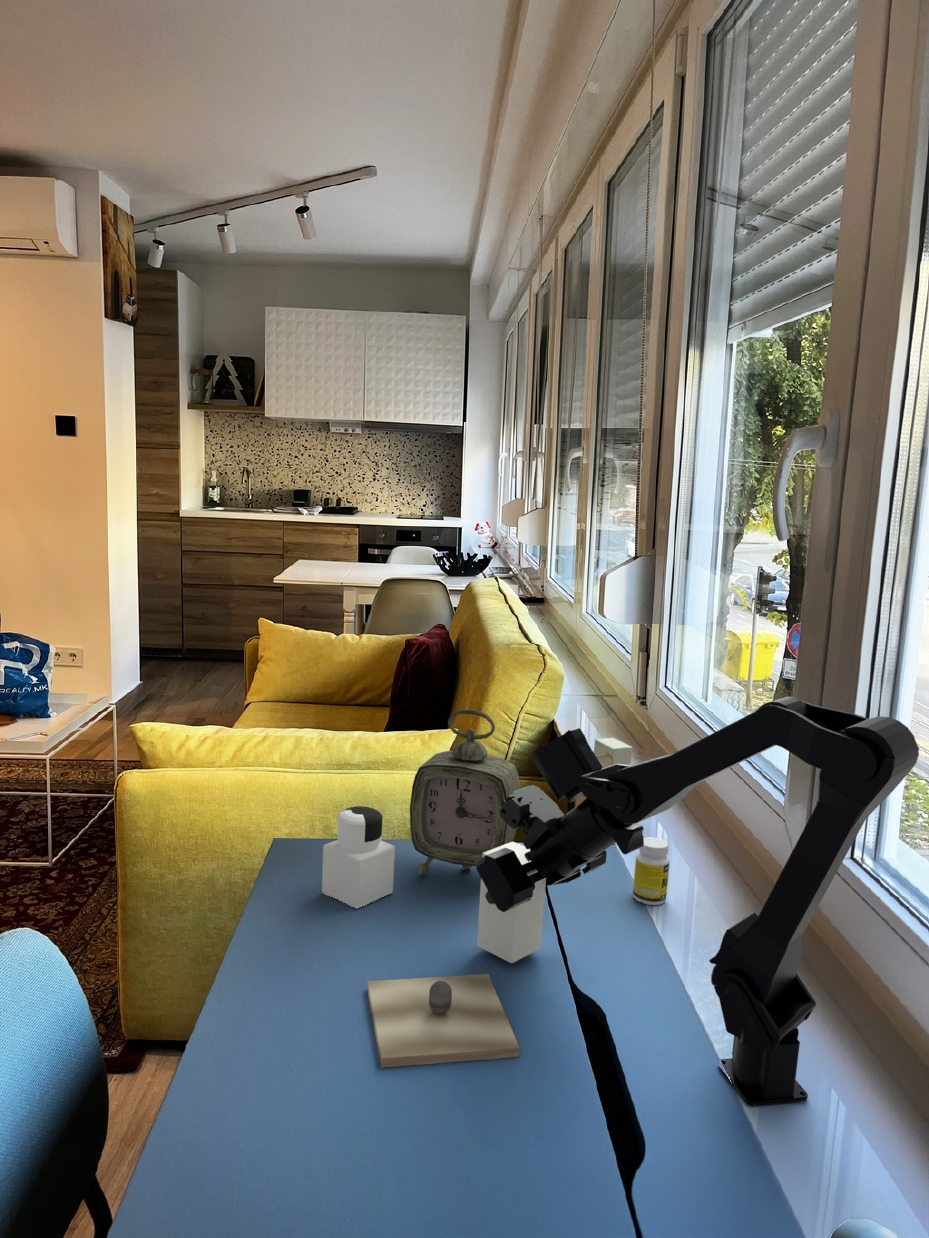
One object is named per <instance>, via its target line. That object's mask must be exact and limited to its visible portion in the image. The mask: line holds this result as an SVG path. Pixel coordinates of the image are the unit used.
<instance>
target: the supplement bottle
mask: <svg viewBox="0 0 929 1238" xmlns="http://www.w3.org/2000/svg"><path fill="white" fill-rule="evenodd" d="M668 854H669V843H668V842H667V841H666V840H665V839H663V838H662V839H661V838H659V837H652V836H649V837H644V845H643V847H641V848H639V849H638V852H637V853H636V855H635V862H634V863H635V864H634V872H633V873H634V875H633V886H632V897H633V899H634V898H635V899H636V900H635V899H634V900H635V901H637V902H638V901H639V902H638V903H640V902H642V903H641V904H643V903H644V904H643V905H648V906H659V905H662V904H664V903H665V902H666V899H667V893H668V892H667V890H668V882H669V871H670V862H671V861H670V858H669V856H668Z"/></svg>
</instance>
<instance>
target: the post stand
mask: <svg viewBox="0 0 929 1238" xmlns="http://www.w3.org/2000/svg"><path fill="white" fill-rule="evenodd" d="M366 985H367V987H366V989H367V997H368V1002H369V1007H370V1012H371V1017H372V1022H373V1023H372V1024H373V1031H374V1034H375V1041H376V1046H377V1050H378V1051H377V1052H378V1056H379V1062H380V1068H382V1069H383V1068H394V1067H396V1068H397V1067H408V1066H409V1067H410V1066H418V1065H431V1064H434V1065H435V1064H446V1063H447V1064H448V1063H455V1062H459V1063H460V1062H470V1061H471V1062H472V1061H482V1060H483V1061H485V1060H486V1061H487V1060H495V1059H496V1060H497V1059H498V1060H499V1059H507V1058H508V1059H510V1058H519V1057H520V1045H519V1043H518V1040H517V1038H516V1036H515V1033H514V1032H513V1028H512V1027H511V1024H510V1021H509V1019H508V1017H507V1015H506V1012H505V1010H504V1007H503V1005H502V1003H501V1001H500V999H499V998H500V997H499V996H498V993H497V990H496V989H495V985H494V984H493V982H492V980H491V977H490V975H489V973H486V974H483V973H481V974H470V975H469V974H468V975H466V974H465V975H449V976H447V975H446V976H436V977H433V976H432V977H415V978H414V977H413V978H400V979H383V980H379V979H378V980H367V984H366Z"/></svg>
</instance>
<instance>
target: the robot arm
mask: <svg viewBox="0 0 929 1238" xmlns="http://www.w3.org/2000/svg"><path fill="white" fill-rule="evenodd" d="M916 740H917V739H916V738H915V736H914V734H913V732H912V731H911V730H910V729H909V728H908V726H906V725H905V724H904V723H902V722H901V721H900V720H897V719H895V718H892V717H889V716H874V717H871V718H868V717H865V716H862V715H859V714H856V713H854V712H849V711H844V710H841V709H834V708H830V707H825V706H821V705H816V704H813V703H811V702H807V701H805V700H802V699H798V698H797V697H795V696H784V697H782V698H778V699H775V700H772V701H769V702H765V703H763V704H762V705H760V707H758V709H757V710H754V711H753V712H751V713H749V714H748V715H745V716H743V717H742V718H739V719H738V720H736V721H734V722H732V723H730V724H729V725H726V726H724V727H722V728H721V729H719V730H716V731H714V732H713V733H712V734H709V735H707V736H705V737H703V738H702V739H700V740H699V739H698V740H697V741H696V742H694V743H691V744H690V745H688V746H686V747H684V748H682V749H680V750H678V751H676V752H674V753H670V754H666V755H662V756H659V757H656V758H655V757H654V758H652V759H649V760H647V759H646V760H645V761H642V762H638V763H636V764H633V765H632V764H630V765H624V764H614V765H611V766H608V767H605V768H603V767H602V765H601V764H600V762H599V760H598V759H597V757H596V756H595V754H594V750H593V749H592V748H591V746H590V744H589V742H588V741H587V738H586V736H585V734H584V732H583V730H582V728H580V727H576V728H572V729H569V730H567V731H566V732H565V733H564V734H562V735H559V736H557V737H555V738H554V739H552V740H551V741H549V742H547V743H545V744H542V745H539V747H537V748H536V749H535V750H534V751H533V752H532V753H531V757H530V758H532V761H533V762H534V764H535V765H536V767H537V769H538V770H539V772H540V774H541V775H542V777H543V779H544V781H545V782H546V784H547V786H548V787H549V789H550V791H551V792H552V794H553V796H554V797H555V799H556V800H557V801H558V802H560V801H563V800H564V799H565V798H566V801H567V802H568V803H569V804H570V803H573V802H576V801H577V800H579V799H582V798H584V797H585V799H583V800H582V801H581V802H580V803H579V804H577V805H576V806H575V807H573V808H572V809H571V810H570V811H568V812H566V813H565V814H564V812H563V811H562V810H561V809H560V807H559V805H558V804H557V803H556V802H555V801H554V800H553V799H552V798H551V797H550V796H549V795H548V794H546V793H545V792H544V791H543V790H542V789H541V788H540V787H539V786H537V785H533V784H531V785H526V786H523V787H520V789H518V790H515V791H513V793H512V794H511V795H508V797H507V798H506V799H505V800H503V801H501V807H502V808H501V810H500V816H501V818H502V819H503V820H504V821H505V822H506V823H507V824H508V825H509V826H510V827H511V828H513V829H514V828H518V829H519V831H520V832H522V833H523V834H525V835H526V836H524V837H523V838H522V839H521V842H522V844H523V846H525V847H526V849H530V851H529V852H527V853H525V854H524V856H525V858H526V860H527V861H528V863H526V864H523V865H522V864H521V863H520V861H519V859H518V857H517V855H516V854H515V852H514V851H513V850H510V849H508V848H503V849H500V850H498V851H495V852H493V853H490V854H488V855H486V856H484V857H483V858H482V859H481V860H479V861H478V862H477V865H476V866H475V868H476V871H477V874H479V877H480V879H481V878H482V880H483V882H484V884H485V886H486V888H487V890H488V891H487V893H486V895H485V898H486V899H487V901H488V903H489V904H495V905H496V906H497V908H498V910H500V911H502V912H506V911H508V910H510V909H512V908H514V907H517V906H519V905H520V904H523V903H525V902H527V901H529V900H531V897H533V890H534V889H535V883H536V882H539V881H541V880H543V879H545V878H546V886H545V887H548V886H554V885H559V884H561V885H562V884H567V883H570V882H572V881H574V880H576V879H579V878H581V876H582V873H583V875H584V876H586V875H588V874H590V873H592V872H594V871H596V870H597V869H599V868H600V867H602V866H604V865H605V864H606V862H607V851H606V850H608V849H609V848H610V847H612V846H613V845H614V844H616V845H617V847H618V849H619V850H620V852H621V853H622V854H623V855H628V854H630V853H632V852H634V851H636V850H639V848H641V847H643V845H644V838H645V837H644V835H643V832H644V828H645V827H644V826H642V825H641V824H638V823H640V822H642V821H645V820H647V819H650V818H651V817H654V816H656V815H659V814H661V813H663V812H665V811H668V810H669V809H671V808H672V807H674V806H675V805H676V804H677V803H678V802H679V801H681V800H682V799H683V798H684V797H686V796H687V795H688V794H690V792H691V791H692V790H693V789H694V788H696V786H698V785H699V784H700V783H702V782H703V781H705V780H707V779H709V778H711V777H714V776H716V775H718V774H720V773H722V772H724V771H726V770H729V769H730V768H732V767H734V766H736V765H738V764H740V763H742V762H744V761H746V760H747V761H748V759H751V758H753V757H754V756H757V755H759V754H761V753H764V752H765V751H767V750H770V749H772V748H773V747H775V746H778V747H780V748H782V749H785V750H786V751H788V752H789V753H791V754H792V755H794V756H795V757H796V758H798V759H800V760H802V761H803V762H804V763H806V764H808V765H809V766H812V767H815V768H817V769H819V770H820V771H819V775H818V783H817V785H818V787H817V800H816V805H815V807H814V809H813V810H812V811H813V812H812V813H811V814H810V816H809V819H808V820H807V823H806V824H805V826H804V828H803V830H802V832H801V834H800V836H799V838H798V840H797V842H796V843H795V845H794V848H793V849H792V851H791V852H790V854H789V857H788V858H787V861H786V863H785V864H784V866H783V868H782V870H781V872H780V874H779V876H778V878H777V879H776V881H775V884H774V885H773V888H772V889H771V891H770V893H769V895H768V897H767V898H766V901H765V903H764V905H763V907H762V909H761V911H760V912H759V914H757V913H755V912H754V911H753V912H751V913H750V914H748V915H747V916H744V918H742V919H740V920H739V921H738V922H736V923H735V924H733V925H732V926H730V927H729V928H727V929H726V930H725V932H724V934H723V936H722V938H721V939H722V940H721V943H720V946H719V949H718V952H717V953H716V954H715V955H714V956H713V957H711V958H710V959H709V963H710V964H712V965H713V964H714V967H713V969H712V971H711V974H710V975H711V976H710V983H711V984H712V985H713V987H714V991H715V994H716V995H717V997H718V999H719V1003H720V1004H719V1005H720V1008H721V1013H722V1017H723V1022H724V1026H725V1031H726V1032H727V1033H728V1034H730V1035H732V1036H733V1043H732V1050H731V1051H732V1052H731V1055H732V1058H721V1059H719V1060H721V1062H722V1065H723V1067H724V1069H725V1071H726V1073H727V1074H728V1076H729V1077H730V1080H731V1082H732V1084H733V1085H732V1084H731V1085H732V1087H733V1088H734V1089H735V1091H736V1093H737V1094H738V1095H739V1096H740V1098H741V1099H742V1101H743V1102H744V1103H745V1104H746V1105H748V1106H750V1107H751V1106H753V1107H754V1106H763V1105H775V1104H784V1103H785V1104H786V1103H787V1104H788V1103H796V1102H797V1103H798V1102H804V1101H807V1100H808V1097H809V1095H808V1092H807V1091H806V1090H805V1089H804V1088H803V1087H802V1085H801V1084H800V1083H799V1082H798V1080H796V1078H797V1069H798V1062H799V1051H800V1045H801V1043H800V1040H799V1032H800V1031H799V1029H798V1027H800V1026H801V1024H803V1022H805V1021H807V1020H808V1019H809V1018H810V1017H811V1015H812V1013H813V1011H814V1010H815V1008H816V1006H817V1002H816V1000H815V999H814V997H813V996H812V995H811V993H810V991H809V990H808V988H807V987H806V985H805V984H804V982H803V981H802V979H801V978H800V976H799V975H798V973H797V972H798V969H799V966H800V962H801V959H802V953H803V937H804V933H805V931H806V929H807V927H808V926H809V924H810V921H811V920H812V918H813V916H814V914H815V913H816V911H817V909H818V907H819V906H820V904H821V902H822V900H823V897H824V896H825V894H826V893H827V891H828V889H829V887H830V886H831V883H832V882H833V880H834V878H835V876H836V874H837V872H838V870H839V869H840V867H841V866H842V863H843V862H844V860H845V858H846V856H847V855H848V853H849V851H850V849H851V847H852V846H853V843H854V841H855V840H856V838H857V836H858V834H859V832H860V831H861V829H862V827H863V826H864V823H865V822H866V820H867V819H868V817H870V815H871V814H872V813H874V811H875V810H876V809H877V808H878V807H879V806H880V805H881V804H882V803H883V802H884V801H885V800H886V799H887V798H888V797H889V795H891V794H892V793H893V792H894V791H895V789H896V788H897V787H898V786H899V785H900V783H902V781H903V780H904V779H905V778H906V776H907V775H909V773H910V772H911V771H912V770H913V768H914V767H915V765H916V764H917V762H918V759H919V753H920V747H919V745H918V744H917V741H916ZM529 861H530V862H529ZM583 866H585V867H584V868H582V867H583ZM535 871H538V872H536V873H534V874H531V875H529V876H528V874H530V873H533V872H535Z"/></svg>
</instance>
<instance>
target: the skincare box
mask: <svg viewBox="0 0 929 1238" xmlns="http://www.w3.org/2000/svg"><path fill="white" fill-rule="evenodd" d="M593 747H594V748H593V752H594V754H595V756H596V757H597V759H598V760H599V762H600V764H601V765H602V767H603V768H605V767H608V766H611V765H614V764H624V765H632V764H631V763H632V753H633V752H632V751H633V746H631V745H629V744H627V743H625V742H623V741H621V740H619V739H617V738H616V737H603V738H602V737H601V738H595V739H594V746H593Z"/></svg>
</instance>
